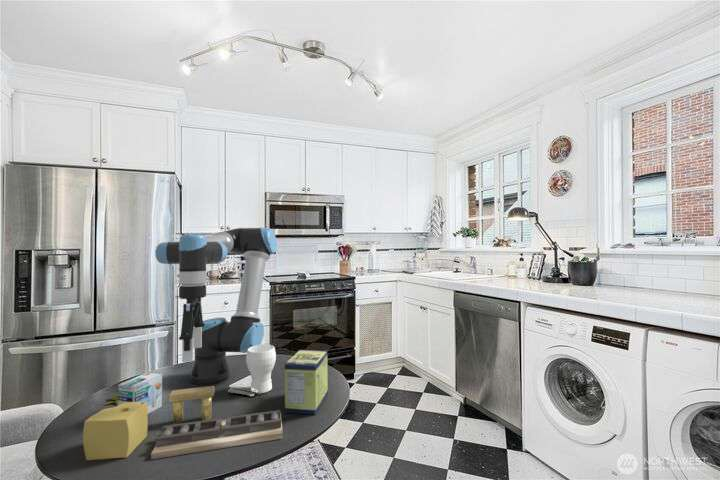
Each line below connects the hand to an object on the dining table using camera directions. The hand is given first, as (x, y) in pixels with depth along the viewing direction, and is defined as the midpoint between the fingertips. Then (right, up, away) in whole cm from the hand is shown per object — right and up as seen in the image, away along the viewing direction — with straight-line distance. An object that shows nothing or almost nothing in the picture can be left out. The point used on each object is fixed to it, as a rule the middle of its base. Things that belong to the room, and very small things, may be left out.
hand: (192, 354), depth 103 cm
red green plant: (-31, -21, +15) cm, 41 cm away
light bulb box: (-19, -21, +5) cm, 28 cm away
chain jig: (+13, -20, -9) cm, 25 cm away
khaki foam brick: (0, -20, 0) cm, 20 cm away
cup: (+15, -21, +22) cm, 33 cm away
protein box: (+34, -20, +11) cm, 41 cm away
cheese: (-13, -20, -14) cm, 28 cm away
